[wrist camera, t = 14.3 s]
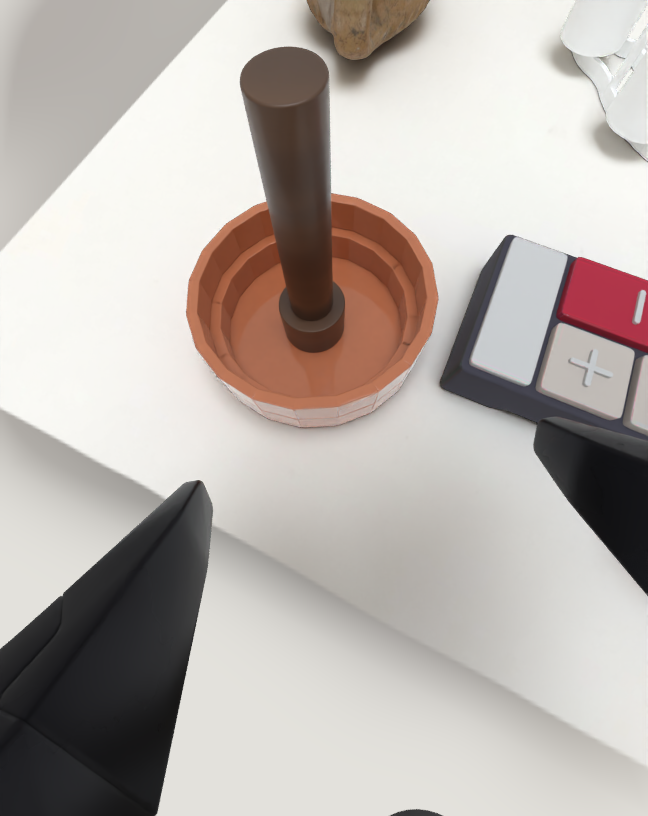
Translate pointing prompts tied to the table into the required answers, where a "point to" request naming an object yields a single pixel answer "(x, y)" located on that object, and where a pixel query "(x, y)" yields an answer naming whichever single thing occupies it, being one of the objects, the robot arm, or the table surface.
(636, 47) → the wheeled car silhouette
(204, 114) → the table surface
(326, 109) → the pestle
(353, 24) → the tan clay cup
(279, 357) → the mixing bowl
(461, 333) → the calculator
